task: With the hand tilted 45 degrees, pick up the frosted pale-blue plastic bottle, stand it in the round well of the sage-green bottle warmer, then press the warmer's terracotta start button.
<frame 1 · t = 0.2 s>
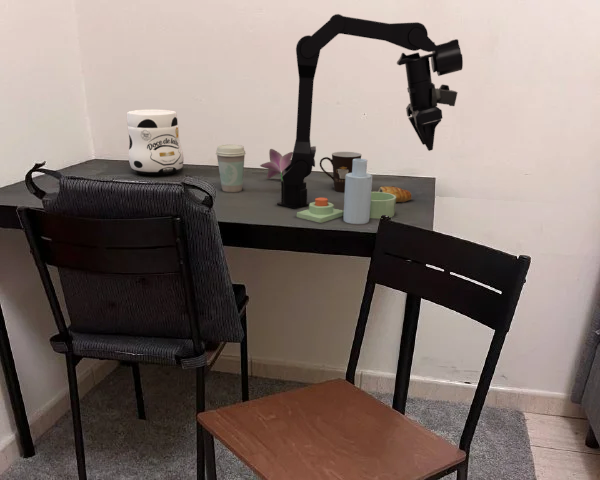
hand: (427, 147, 159), 15 cm above the table, tool pointing down, fingers open, 9 cm apart
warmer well: (375, 213, 161), on the table
coffee cup: (232, 190, 182), on the table
coffee mug: (340, 189, 185), on the table
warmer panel: (320, 216, 158), on the table
lily: (280, 181, 193), on the table
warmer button: (321, 202, 156), point 3 cm above the table, slide at 0.1 cm
doce de leite jar: (157, 173, 201), on the table
bottle: (356, 220, 155), on the table
pastry: (392, 200, 174), on the table
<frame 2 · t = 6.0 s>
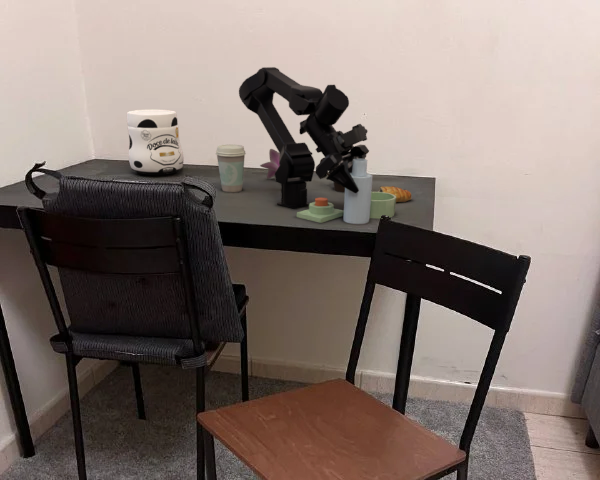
hand: (363, 189, 150), 8 cm above the table, tool tilted 45°, fingers closed on bottle, 6 cm apart
bottle: (356, 220, 155), on the table, touching gripper
everything else where it was.
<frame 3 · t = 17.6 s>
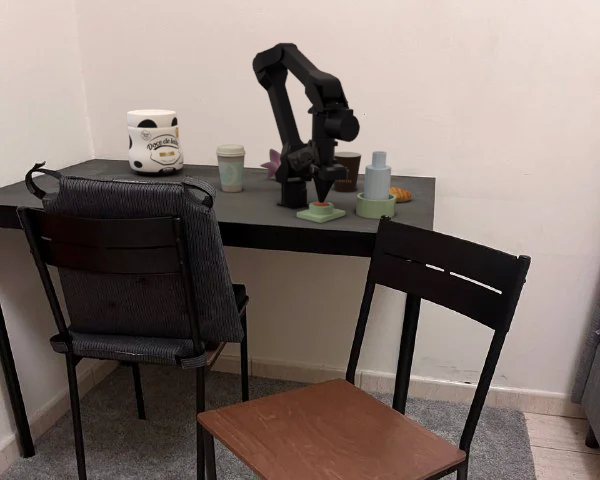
hand: (321, 202, 156), 4 cm above the table, tool pointing down, fingers closed, pressing on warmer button
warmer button: (321, 205, 156), point 3 cm above the table, slide at -0.7 cm, touching gripper
bottle: (375, 211, 161), point 1 cm above the table, touching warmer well
everything else where it was.
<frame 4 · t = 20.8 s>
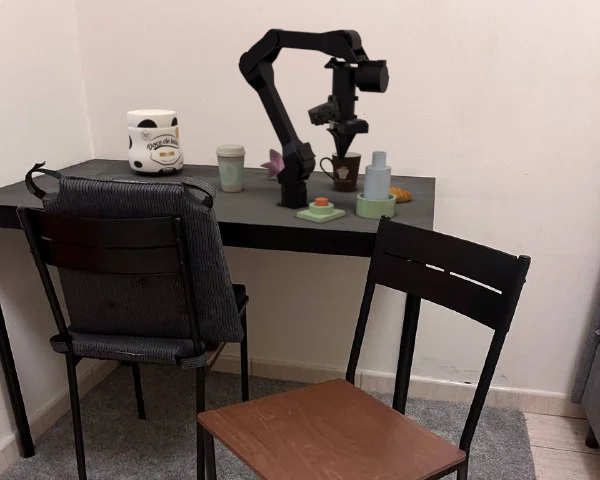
hand: (340, 159, 155), 13 cm above the table, tool pointing down, fingers closed
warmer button: (321, 202, 156), point 3 cm above the table, slide at 0.1 cm
everything else where it was.
at the end: bottle 0.1 cm off-centre in the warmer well, point 0.6 cm above the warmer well's base; bottle tilted 0°; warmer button pushed in 1.2 cm at the most during the clip, back to where it started at the end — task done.
